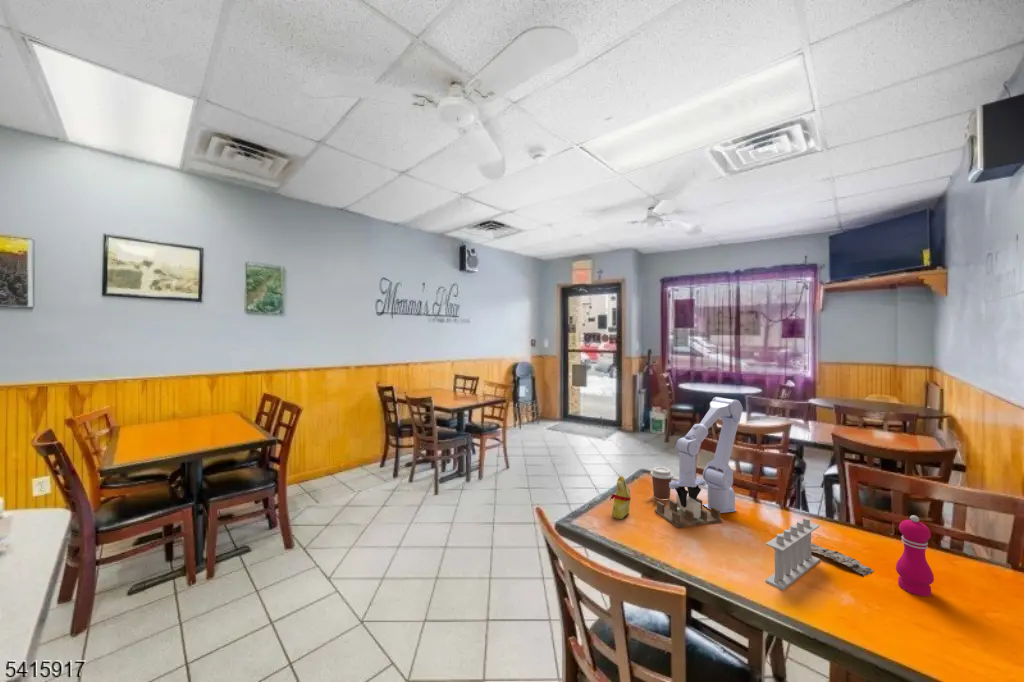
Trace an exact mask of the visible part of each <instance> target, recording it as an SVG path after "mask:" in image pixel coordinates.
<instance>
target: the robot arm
mask: <svg viewBox="0 0 1024 682" xmlns="http://www.w3.org/2000/svg"><path fill="white" fill-rule="evenodd" d="M742 414H743V405H742V403H741V402H740V400H738V399H731V398H724V397H720V396H715V397H713V398H712V400H711V401H710V402H709V409H708V411H707V412H706V414H705V415H704V417H703V418H702V419H701V421H700V423H694V424H693V426H692V427H691V428H690V429H689V431H688V432H687V433H686V434H685V436H684V437H681V438H679V439H678V440H677V442H676V444H675V450H676V451H677V455H678V458H679V459H678V461H679V462H678V463H679V465H678V468H679V471H678V475H679V479H676V480H674V481H671V482H669V488H671V489H670V490H675V491H676V494H678V496H679V499H680V503H681V506H683V507H686V499H687V496H689V497H691V498H692V499H694V500H696V498H698V496H699V494H700V492H701V491H702V488H701V486H702V487H706V486H707V503H702V506H703V505H704V506H705V508H706V507H707V508H706V509H708V510H709V509H710V511H711V507H714V508H716V509H718V510H719V511H720V514H724V513H731V512H732V513H734V512H737V509H736V493H735V490H734V489H733V487H732V486H733V484H734V470H733V468H731V466H730V465H729V462H730V459H731V455H732V451H733V448H734V447H733V446H734V444H735V443H734V442H735V438H736V434H737V431H738V426H739V422H741V417H742ZM718 419H720V420H721V422H722V424H721V425H722V426H721V429H720V431H719V437H718V441H717V444H716V449H715V453H714V458H713V459H711V461H708V462H707V463H706V466H705V467H704V469H703V472H702V478H701V479H700V478H696V477H697V474H696V473H697V471H696V467H697V465H696V463H697V459H696V457H697V454H699V452H700V450H701V449H700V448H701V446H702V442H703V441H704V440H705V439H706V437H707V436H708V435H709V429H710V428H711V427H712V426H713V424H714V423H715V422H716V421H718ZM704 506H703V507H704Z"/></svg>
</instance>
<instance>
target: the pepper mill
mask: <svg viewBox="0 0 1024 682" xmlns="http://www.w3.org/2000/svg"><path fill="white" fill-rule="evenodd" d="M898 530H899V532H900V534H902V535H901V542H902V543H903V546H904V547H903V552H902V554H901V556H900V557H899V558H898V560H897V562H896V565H895V571H896V572H897V574H898V575H899V577H898V578H897V581H898V582H897V583H898V584H897V585H898V586H899V587H900V588H901V587H902V588H903V590H904V589H905V590H904V591H906V592H908V593H910V594H912V595H916V596H921V597H930V596H932V595H931V594H932V587H931V585H932V584H934V581H935V577H934V574H933V570H932V568H931V566H930V565H929V563H928V561H927V558H926V550H928V548H929V546H928V545H929V543H928V541H929V540H930V539H931V536H932V533H931V530H930V529H929V527H928V526H927V525H926V524H924V523H923V522H921V521H920V517H918V516H917V515H916V514H915V515H914V514H913V515H910V516H909V519H904V520H902V521H901V522H900V523H899V526H898ZM902 588H901V589H902Z"/></svg>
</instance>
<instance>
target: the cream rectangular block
mask: <svg viewBox="0 0 1024 682" xmlns="http://www.w3.org/2000/svg"><path fill="white" fill-rule="evenodd" d="M675 496H676V501H675V502H676V503H677V507H678V508H680V509H681V510H683V511H684V512H685V510H688V511H690V512H691V513H693V514H694V518H696V517H701V503H699V502H697V501H696V500H694V499H692V498H691V497H689V495H687V499H686V507H683V506H681V503H680V499H679V496H678V494H677V493H676V495H675Z"/></svg>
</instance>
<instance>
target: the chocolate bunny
mask: <svg viewBox="0 0 1024 682" xmlns="http://www.w3.org/2000/svg"><path fill="white" fill-rule="evenodd" d="M616 487H617V488H616V492H615V493H612V494H611V497H610V499H609V500H610V501H611V500H613V505H612V512H611V516H612V517H613V518H615V519H617V520H623V519H624V518H625V517H626V516H627V515H628V514H629V513H630V503H631V490H630V487H629V486H628V484H627V482H626V479H625V477H624V476H622V475H619V477H618V478H617V480H616Z"/></svg>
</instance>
